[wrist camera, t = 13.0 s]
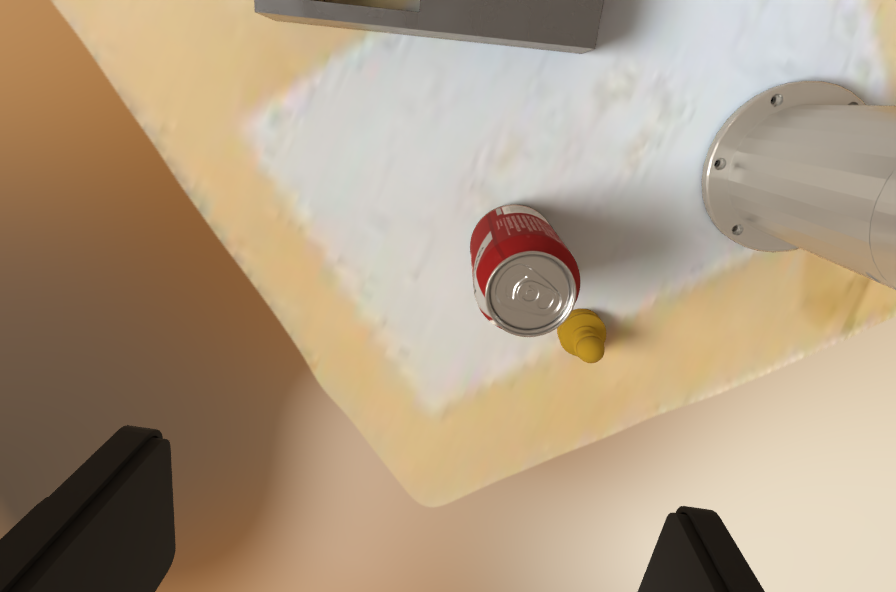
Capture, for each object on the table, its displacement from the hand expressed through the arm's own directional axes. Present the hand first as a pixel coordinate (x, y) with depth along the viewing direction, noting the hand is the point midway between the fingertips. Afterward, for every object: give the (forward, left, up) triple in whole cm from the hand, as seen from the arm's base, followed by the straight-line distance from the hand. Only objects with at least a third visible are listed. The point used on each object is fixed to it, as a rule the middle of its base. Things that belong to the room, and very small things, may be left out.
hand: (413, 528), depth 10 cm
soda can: (-6, +3, -34) cm, 35 cm away
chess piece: (-13, +10, -34) cm, 38 cm away
